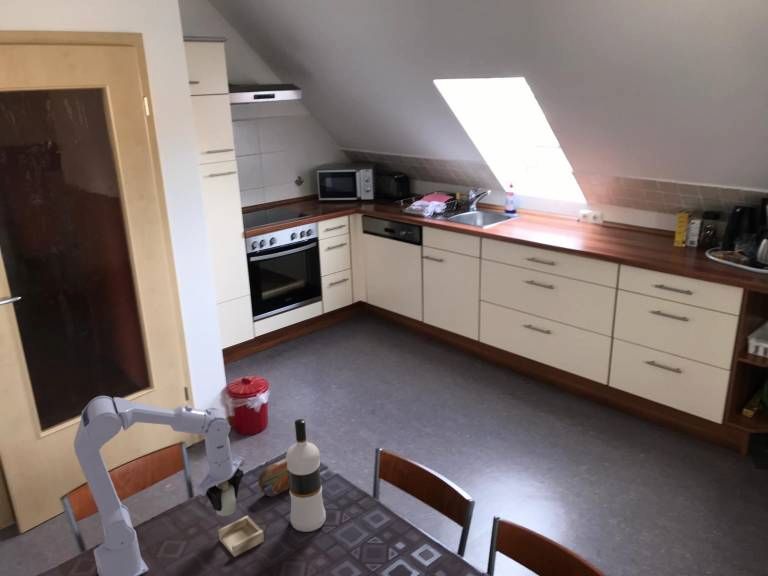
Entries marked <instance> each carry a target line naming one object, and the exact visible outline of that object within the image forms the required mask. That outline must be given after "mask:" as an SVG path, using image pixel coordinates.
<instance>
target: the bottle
mask: <svg viewBox="0 0 768 576" xmlns="http://www.w3.org/2000/svg"><path fill="white" fill-rule="evenodd" d="M217 486H218V488H219V489H222V490H223V491H222V495H221V503H222V510H221V511H217V510H215V513H216V514H217V515H218V516H220V517H227V516H230V515H232V514H233V513H235V512H236V510H237V501H236V499H235V492H234V486H233V485H232V484H228V481H227V480H226V481H224V482H222V483H219V484H217Z"/></svg>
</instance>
